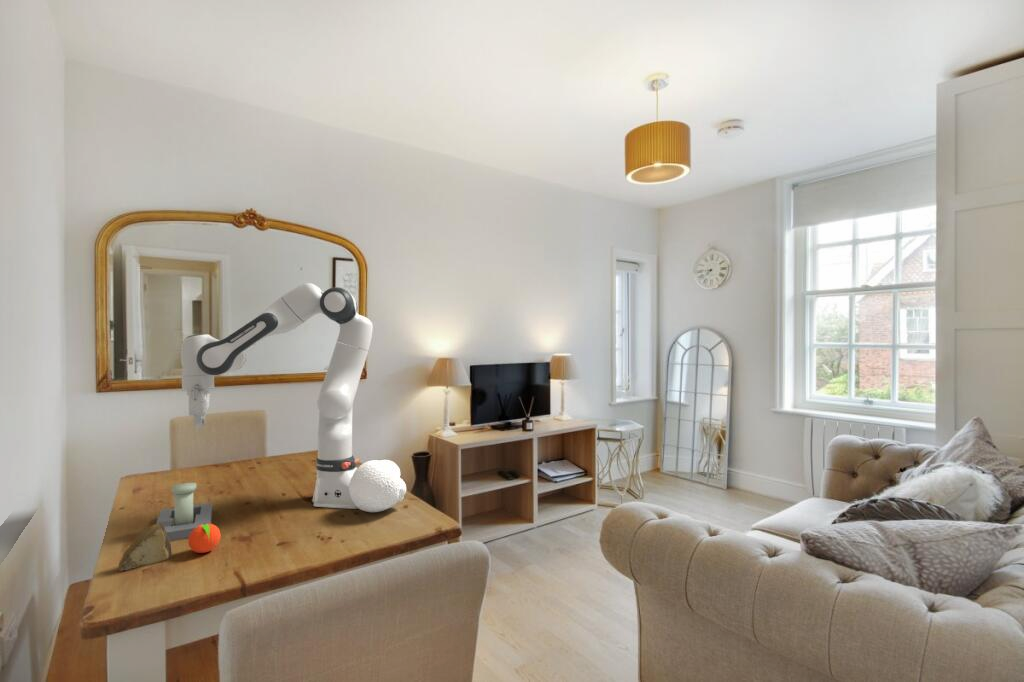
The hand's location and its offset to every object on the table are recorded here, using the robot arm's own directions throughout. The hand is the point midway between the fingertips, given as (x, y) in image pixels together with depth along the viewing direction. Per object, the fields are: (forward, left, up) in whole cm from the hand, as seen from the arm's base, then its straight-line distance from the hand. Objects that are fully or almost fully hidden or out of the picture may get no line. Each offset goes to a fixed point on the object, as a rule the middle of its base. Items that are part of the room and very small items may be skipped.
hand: (199, 426), depth 155 cm
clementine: (-34, +25, -26) cm, 49 cm away
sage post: (-15, +16, -26) cm, 34 cm away
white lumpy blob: (-56, -16, -26) cm, 64 cm away
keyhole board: (-12, +14, -26) cm, 31 cm away
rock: (-26, +34, -26) cm, 50 cm away
